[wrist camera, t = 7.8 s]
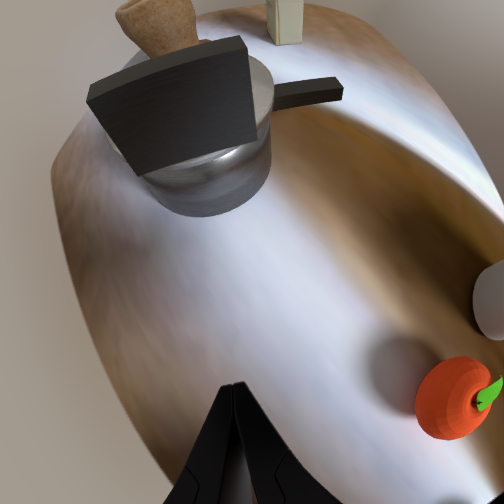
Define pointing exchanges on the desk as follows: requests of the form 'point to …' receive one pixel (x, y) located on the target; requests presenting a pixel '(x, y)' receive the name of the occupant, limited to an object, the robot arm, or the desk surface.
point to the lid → (184, 106)
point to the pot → (235, 161)
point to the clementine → (455, 398)
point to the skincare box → (285, 21)
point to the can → (490, 301)
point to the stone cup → (159, 25)
